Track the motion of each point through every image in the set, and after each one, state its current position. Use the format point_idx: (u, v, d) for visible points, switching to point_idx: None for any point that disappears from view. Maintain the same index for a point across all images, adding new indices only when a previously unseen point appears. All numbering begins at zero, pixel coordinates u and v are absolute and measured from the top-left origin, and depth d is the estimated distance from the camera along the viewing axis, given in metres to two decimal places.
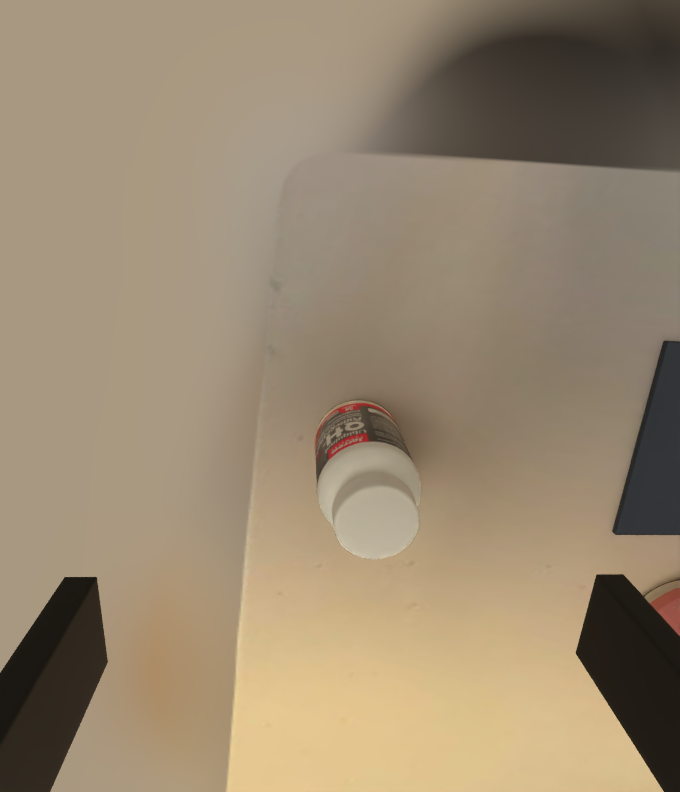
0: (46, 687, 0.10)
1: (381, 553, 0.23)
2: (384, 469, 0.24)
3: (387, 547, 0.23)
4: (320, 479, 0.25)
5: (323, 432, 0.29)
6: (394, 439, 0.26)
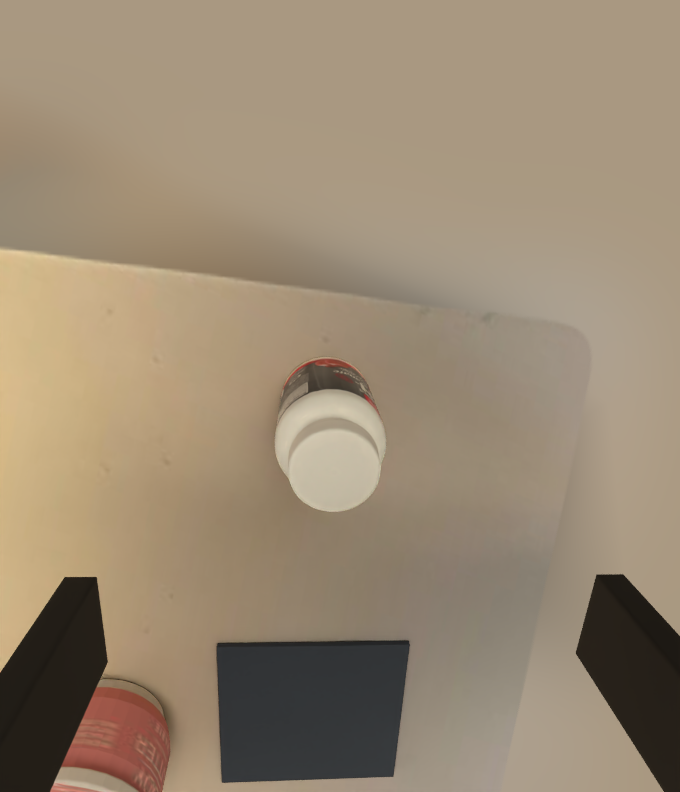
0: (46, 687, 0.10)
1: (296, 478, 0.21)
2: None
3: (304, 484, 0.21)
4: (348, 394, 0.23)
5: (354, 374, 0.27)
6: None
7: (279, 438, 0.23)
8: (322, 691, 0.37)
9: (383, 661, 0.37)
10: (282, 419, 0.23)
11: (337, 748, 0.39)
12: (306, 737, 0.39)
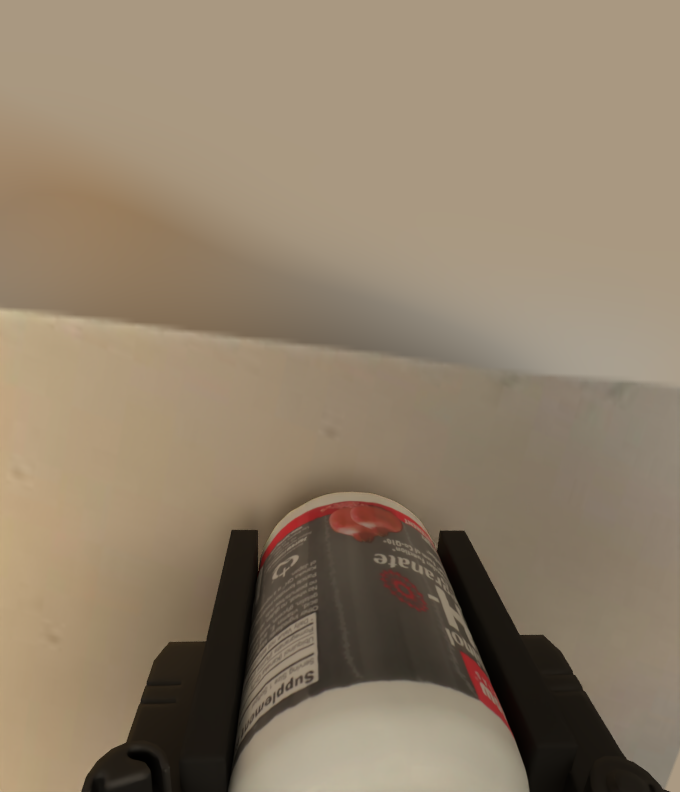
0: (248, 611, 0.12)
1: None
2: None
3: None
4: (435, 703, 0.08)
5: (418, 552, 0.12)
6: None
7: None
8: None
9: None
10: (246, 770, 0.08)
11: None
12: None
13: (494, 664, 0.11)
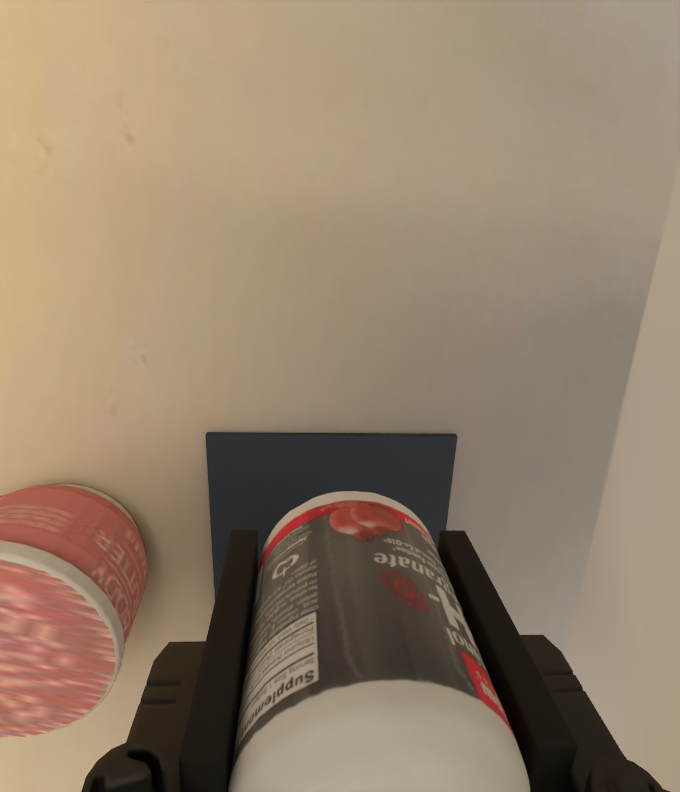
0: (248, 611, 0.12)
1: None
2: None
3: None
4: (436, 702, 0.08)
5: (418, 551, 0.12)
6: None
7: None
8: None
9: (423, 461, 0.28)
10: (246, 770, 0.08)
11: None
12: None
13: (494, 664, 0.11)
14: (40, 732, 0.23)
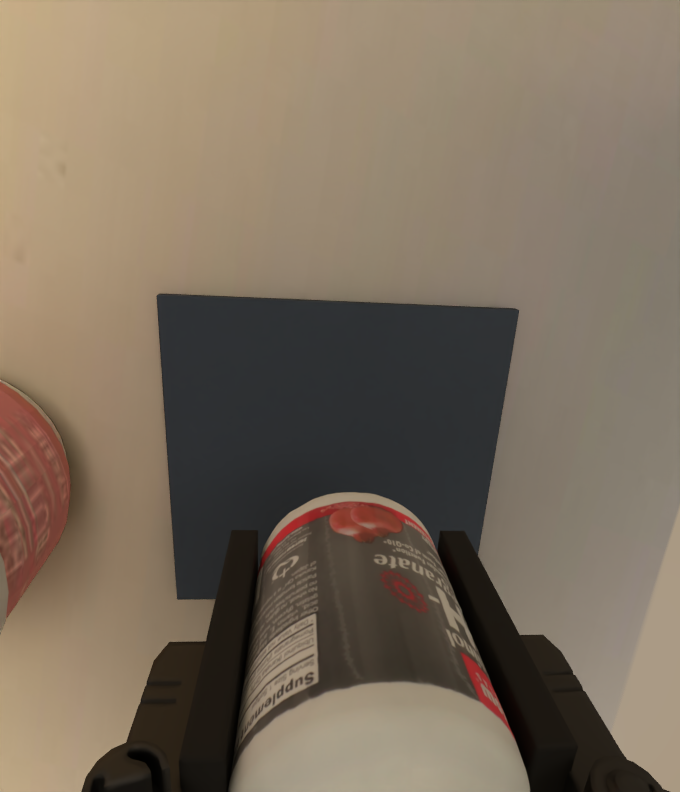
0: (248, 611, 0.12)
1: None
2: None
3: None
4: (436, 704, 0.08)
5: (418, 552, 0.12)
6: None
7: None
8: (355, 409, 0.20)
9: (469, 346, 0.20)
10: (246, 772, 0.08)
11: None
12: None
13: (494, 664, 0.11)
14: None
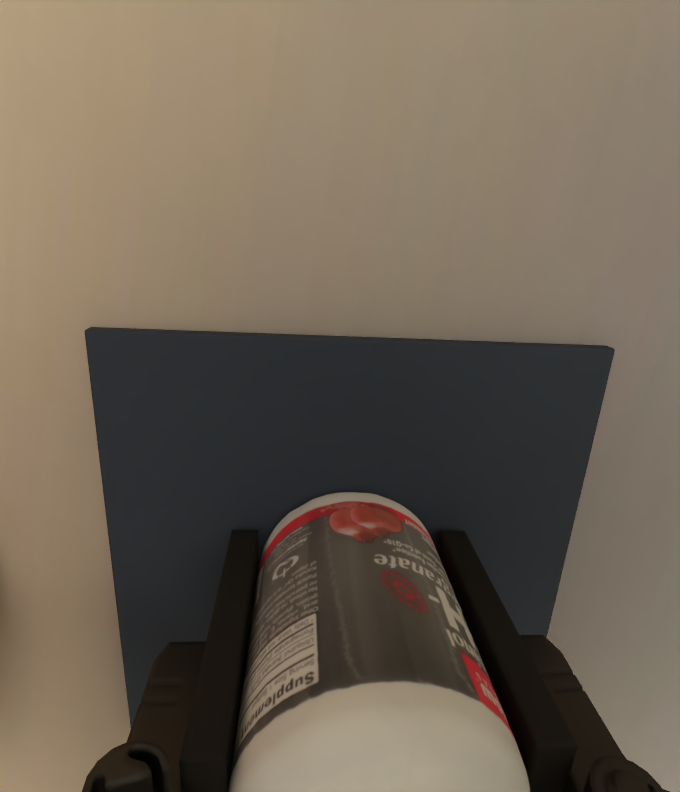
0: (248, 611, 0.12)
1: None
2: None
3: None
4: (436, 704, 0.08)
5: (418, 552, 0.12)
6: None
7: None
8: (376, 487, 0.14)
9: (540, 400, 0.14)
10: (246, 772, 0.08)
11: None
12: None
13: (494, 664, 0.11)
14: None
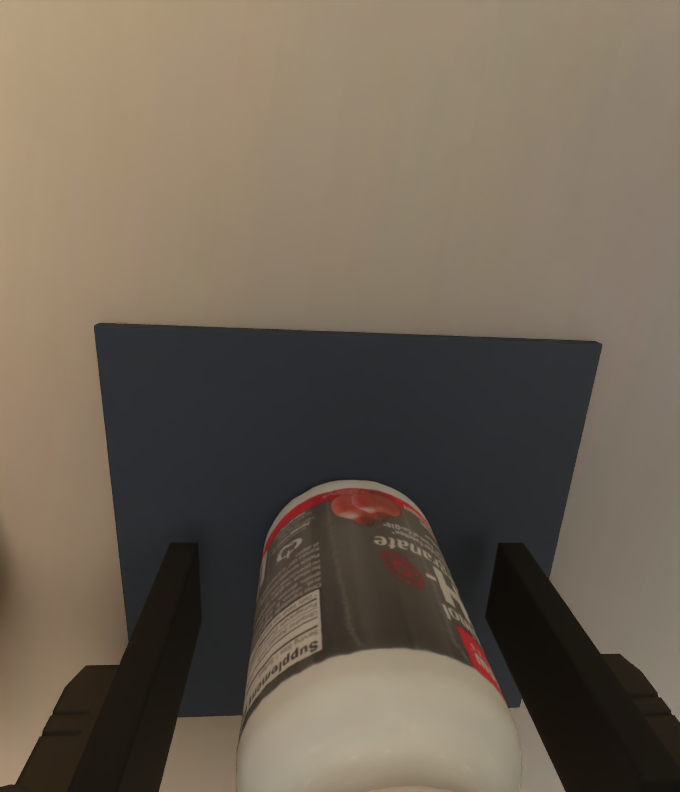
0: (175, 631, 0.11)
1: None
2: None
3: None
4: (432, 668, 0.09)
5: (416, 535, 0.13)
6: None
7: (246, 788, 0.08)
8: (374, 477, 0.15)
9: (531, 393, 0.14)
10: (254, 733, 0.09)
11: None
12: None
13: (579, 687, 0.10)
14: None
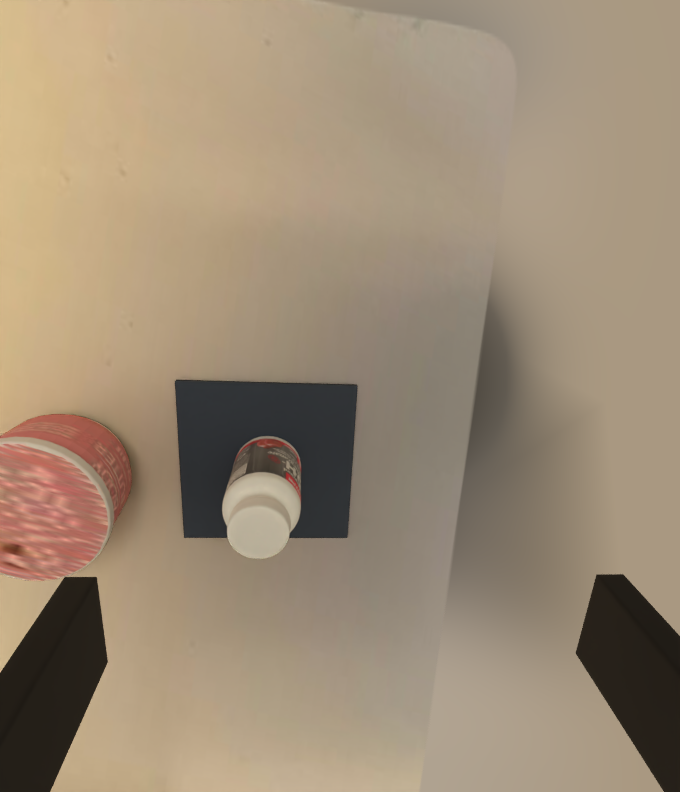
0: (46, 687, 0.10)
1: (232, 537, 0.31)
2: None
3: (238, 541, 0.31)
4: (272, 476, 0.33)
5: (285, 452, 0.37)
6: None
7: (224, 506, 0.33)
8: (276, 435, 0.40)
9: (333, 404, 0.39)
10: (226, 493, 0.33)
11: None
12: None
13: None
14: (55, 577, 0.34)
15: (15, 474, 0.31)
